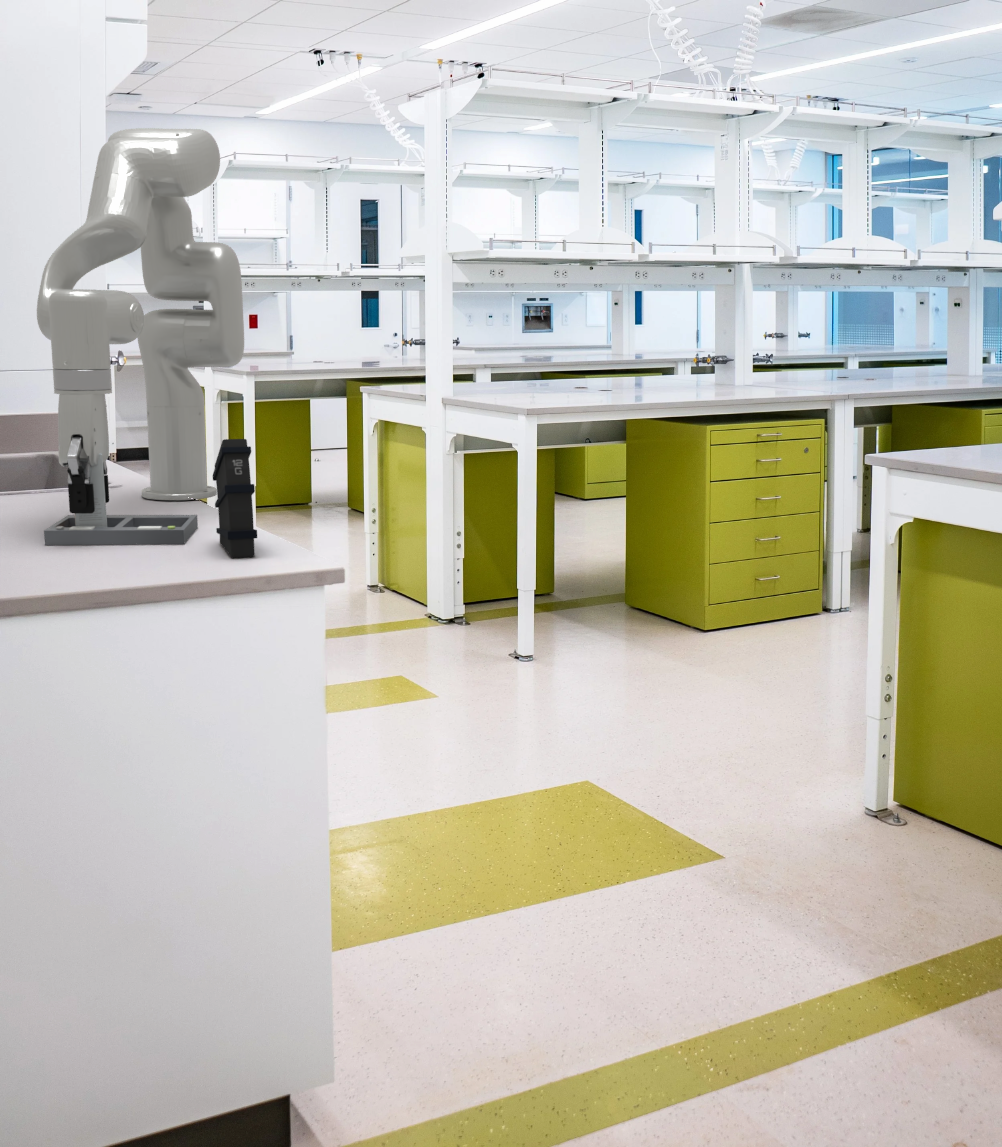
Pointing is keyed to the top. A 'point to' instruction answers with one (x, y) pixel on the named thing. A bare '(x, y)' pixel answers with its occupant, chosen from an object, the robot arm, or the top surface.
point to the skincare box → (95, 499)
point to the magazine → (235, 498)
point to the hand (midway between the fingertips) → (90, 507)
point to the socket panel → (124, 530)
